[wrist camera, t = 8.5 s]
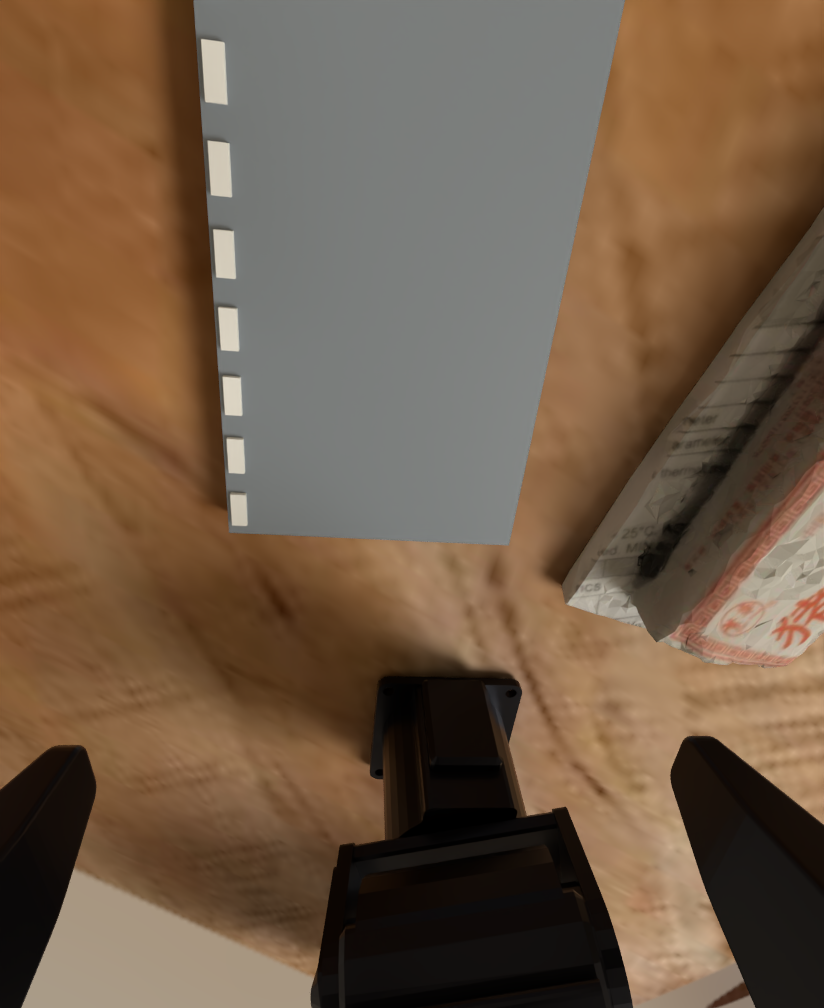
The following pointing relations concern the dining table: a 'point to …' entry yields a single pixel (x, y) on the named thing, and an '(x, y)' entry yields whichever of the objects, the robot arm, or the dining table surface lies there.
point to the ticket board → (391, 250)
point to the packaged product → (730, 494)
